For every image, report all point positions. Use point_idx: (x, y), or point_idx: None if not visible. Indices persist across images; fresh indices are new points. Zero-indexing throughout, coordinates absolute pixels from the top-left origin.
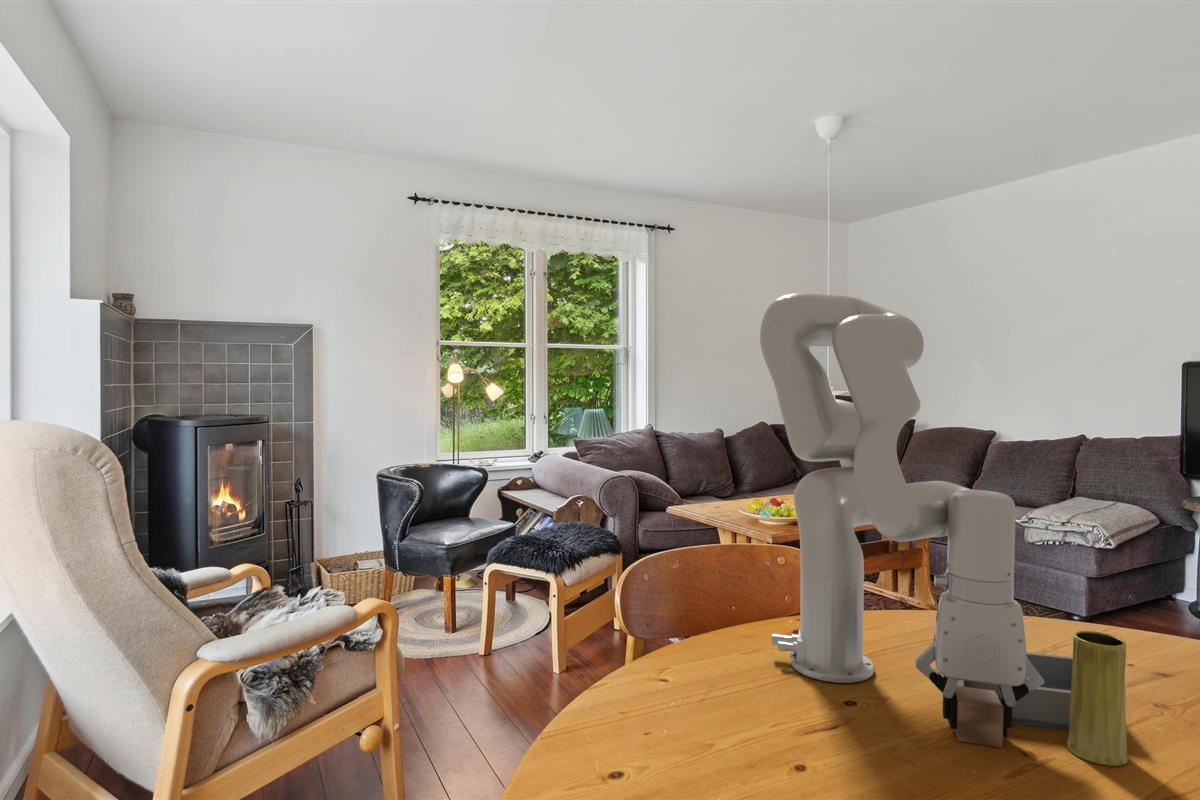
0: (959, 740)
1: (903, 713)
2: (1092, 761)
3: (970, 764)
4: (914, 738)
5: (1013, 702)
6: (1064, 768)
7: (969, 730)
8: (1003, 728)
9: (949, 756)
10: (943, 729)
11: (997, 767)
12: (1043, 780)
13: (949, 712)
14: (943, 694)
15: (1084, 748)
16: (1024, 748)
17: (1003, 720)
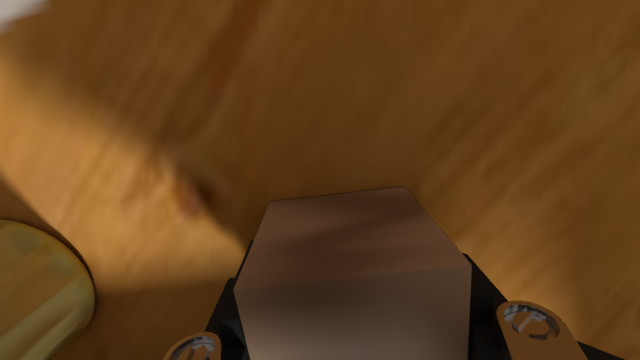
0: (399, 187)
1: (542, 300)
2: (16, 222)
3: (379, 33)
4: (543, 148)
5: (179, 358)
6: (91, 150)
7: (377, 206)
8: None
9: (445, 63)
10: None
11: (290, 55)
12: (144, 26)
13: None
14: (550, 311)
15: (13, 254)
16: (207, 229)
17: None
